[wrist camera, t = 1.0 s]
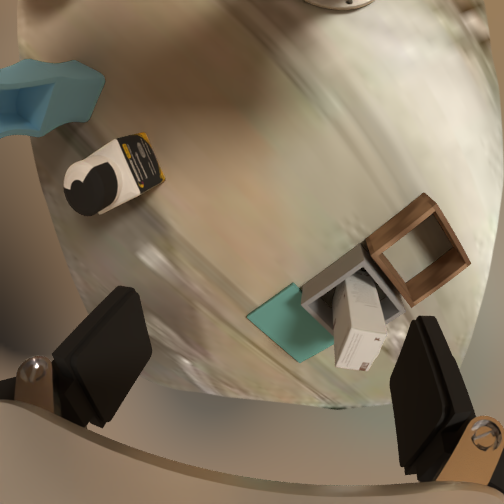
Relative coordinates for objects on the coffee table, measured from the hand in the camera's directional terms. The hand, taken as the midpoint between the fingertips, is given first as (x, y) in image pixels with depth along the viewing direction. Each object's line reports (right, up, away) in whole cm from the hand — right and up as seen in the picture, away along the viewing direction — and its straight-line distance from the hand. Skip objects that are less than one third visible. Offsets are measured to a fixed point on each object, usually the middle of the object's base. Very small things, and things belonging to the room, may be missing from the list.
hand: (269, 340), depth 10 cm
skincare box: (+13, -2, +30) cm, 33 cm away
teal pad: (+6, -8, +35) cm, 36 cm away
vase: (-25, +26, +25) cm, 44 cm away
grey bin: (+13, -2, +30) cm, 33 cm away
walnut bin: (+20, +4, +26) cm, 33 cm away
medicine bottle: (-16, +14, +29) cm, 36 cm away
